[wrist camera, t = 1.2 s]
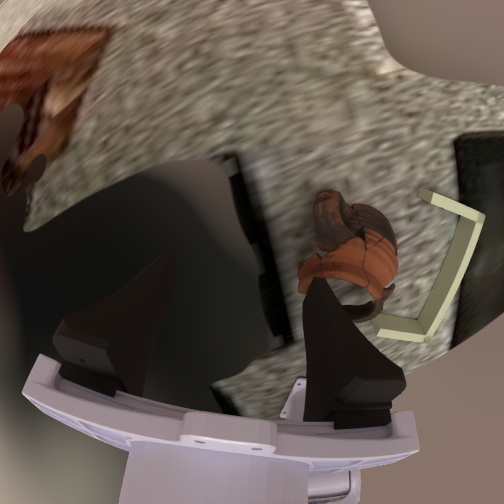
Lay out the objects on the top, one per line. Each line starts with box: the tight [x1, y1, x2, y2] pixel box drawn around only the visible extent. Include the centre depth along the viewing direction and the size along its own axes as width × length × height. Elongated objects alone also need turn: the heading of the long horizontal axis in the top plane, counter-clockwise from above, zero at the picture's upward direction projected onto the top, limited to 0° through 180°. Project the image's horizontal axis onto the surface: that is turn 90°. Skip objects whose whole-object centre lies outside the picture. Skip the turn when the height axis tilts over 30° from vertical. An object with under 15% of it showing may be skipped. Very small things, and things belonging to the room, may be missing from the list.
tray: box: [371, 187, 486, 343], centre depth 23 cm, size 15×7×3 cm, turn 170°
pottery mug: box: [298, 190, 398, 323], centre depth 23 cm, size 12×10×8 cm
